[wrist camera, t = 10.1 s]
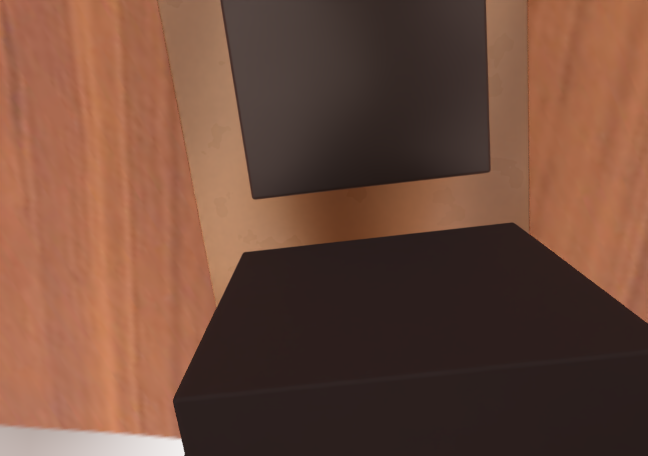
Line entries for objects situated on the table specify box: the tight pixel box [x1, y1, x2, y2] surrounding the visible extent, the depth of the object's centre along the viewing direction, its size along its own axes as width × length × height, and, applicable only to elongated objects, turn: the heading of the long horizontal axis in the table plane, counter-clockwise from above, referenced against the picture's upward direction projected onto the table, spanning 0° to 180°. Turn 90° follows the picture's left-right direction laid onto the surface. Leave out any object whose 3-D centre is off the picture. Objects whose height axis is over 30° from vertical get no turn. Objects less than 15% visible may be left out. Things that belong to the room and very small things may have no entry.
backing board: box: [157, 0, 530, 308], centre depth 16 cm, size 12×16×7 cm
